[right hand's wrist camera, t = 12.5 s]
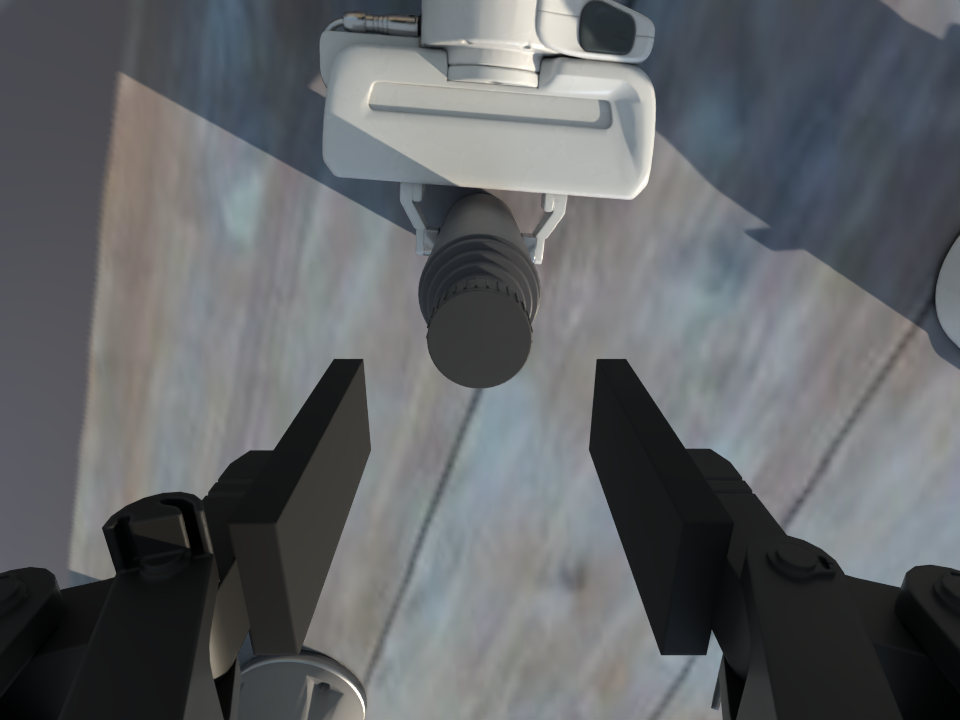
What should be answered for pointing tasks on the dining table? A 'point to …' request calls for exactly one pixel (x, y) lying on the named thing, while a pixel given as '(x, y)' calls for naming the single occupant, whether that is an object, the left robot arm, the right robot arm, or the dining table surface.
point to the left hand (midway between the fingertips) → (479, 258)
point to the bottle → (479, 253)
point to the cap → (479, 334)
